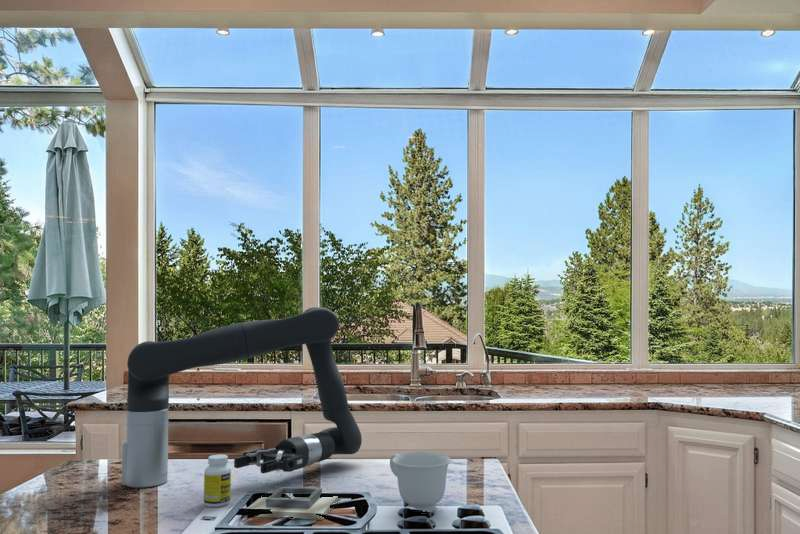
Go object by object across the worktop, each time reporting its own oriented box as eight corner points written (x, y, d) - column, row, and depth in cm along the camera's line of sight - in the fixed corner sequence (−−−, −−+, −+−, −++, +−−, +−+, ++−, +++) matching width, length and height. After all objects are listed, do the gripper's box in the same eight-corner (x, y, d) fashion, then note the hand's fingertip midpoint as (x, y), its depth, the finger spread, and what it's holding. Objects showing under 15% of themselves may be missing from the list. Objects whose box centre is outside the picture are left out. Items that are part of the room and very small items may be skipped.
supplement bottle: (223, 508, 130) (223, 459, 130) (198, 507, 131) (199, 458, 131) (235, 500, 135) (235, 453, 136) (211, 499, 136) (212, 453, 137)
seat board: (244, 516, 124) (244, 502, 125) (270, 495, 138) (270, 482, 138) (322, 519, 122) (322, 505, 122) (341, 498, 136) (341, 485, 136)
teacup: (411, 493, 138) (411, 447, 139) (464, 508, 128) (463, 458, 129) (370, 506, 130) (370, 456, 131) (423, 523, 119) (422, 469, 120)
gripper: (278, 433, 158) (226, 445, 145) (321, 439, 150) (271, 452, 137) (277, 464, 157) (226, 478, 144) (321, 472, 149) (270, 488, 136)
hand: (248, 466), depth 140 cm, fingers open, 8 cm apart
